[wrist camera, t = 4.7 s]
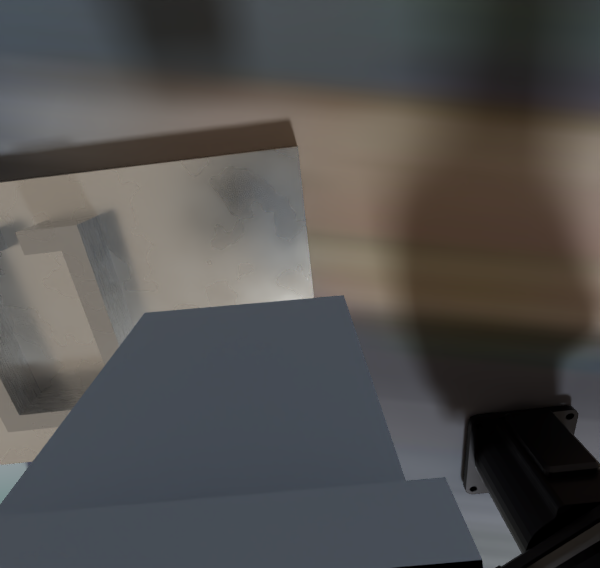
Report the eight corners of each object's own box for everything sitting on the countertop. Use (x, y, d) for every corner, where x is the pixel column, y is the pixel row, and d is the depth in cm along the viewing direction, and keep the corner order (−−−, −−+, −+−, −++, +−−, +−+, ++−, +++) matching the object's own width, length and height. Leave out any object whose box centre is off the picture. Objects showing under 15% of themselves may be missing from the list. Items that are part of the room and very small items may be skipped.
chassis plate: (326, 418, 23) (331, 455, 21) (12, 451, 24) (-23, 491, 21) (297, 145, 17) (298, 148, 14) (-128, 197, 17) (-201, 209, 15)
